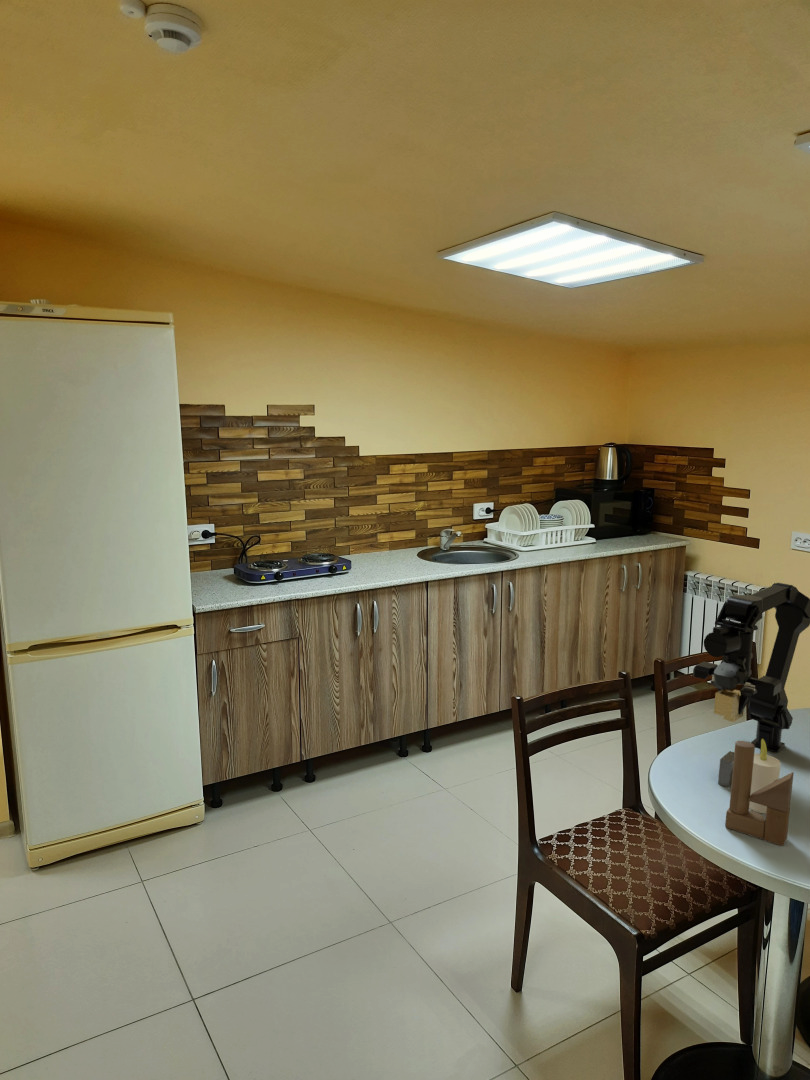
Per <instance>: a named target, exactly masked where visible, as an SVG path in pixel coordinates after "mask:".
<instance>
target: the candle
mask: <svg viewBox="0 0 810 1080" xmlns="http://www.w3.org/2000/svg"><path fill="white" fill-rule="evenodd" d="M781 764H782V763H781V761H780V760H779V759H777V758H776V757H774V756H772V755H769V754H768V750H767V747H766V743H765V741H764V739H762V740H761V748H760V753H756V752H755V753H754V762H753V772H752V783H751V793H750V796H751V794H752V793H754V792H756V791H758V790H759V789H761V788H763V787H765V786H767V785H769V784H771V783H773V782H775V781H777V780H779V779H780V771H781ZM749 811H752V812H756V813H759V814H765V815H766V811H767V806H764V805H760V804H757V803H754V802H750V804H749Z"/></svg>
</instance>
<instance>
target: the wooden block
mask: <svg viewBox="0 0 810 1080" xmlns="http://www.w3.org/2000/svg"><path fill="white" fill-rule="evenodd" d="M735 742H736V743H734V751H733V752H734V763H733V774H732V785H731V786H730V796H729V797H730V798H729V808H728V809H727V810H726V813H725V823H724V824H725V828H727V829H729V830H732V831H736V832H737V833H738V832H740V833H741V834H745V835H747V836H751V837H754V838H757V839H759V840H764V841H765V842H768V843H770V844H775V845H778V846H780V847H784V846H785V843H786V841H787V839H788V831H789V822H790V811H791V807H790V806H791V801H792V792H793V791H792V790H793V782H794V781H793V780H794V772H793V771H792V772H791V773H788V774H786V775H784V776H783V777H779V780H777V781H775V782H773V783H771V784H769V785H767V786H765V787H763V788H761V789H759V790H758V791H756V792H754V793H752V794H751V796H750V793H751V783H752V772H753V762H754V754H755V753H756V752H755V750H756V746H754V744H752V743H751V741H747V740H738V741H735ZM750 802H754V803H757V804H760V805H764V806H767V811H766V814H765V817H764V816H762V814H761V813H758V812H755V811H753V810H750V809H749V804H750Z"/></svg>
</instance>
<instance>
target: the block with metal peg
mask: <svg viewBox="0 0 810 1080" xmlns="http://www.w3.org/2000/svg"><path fill="white" fill-rule="evenodd" d="M736 742H737V741H735V743H736ZM735 743H734V744H735ZM734 752H735V751H730V750H729V751H728V752H727V753H726V754H724V755H723V756H722V757H721V758H720V759H719V768H718V780H717V784H718V785H720V786H724V787H727V788H731V785H732V774H733V763H734Z"/></svg>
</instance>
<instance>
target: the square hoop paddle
mask: <svg viewBox="0 0 810 1080" xmlns="http://www.w3.org/2000/svg"><path fill="white" fill-rule="evenodd" d="M714 696H715V697H714V707H713V708H714V709H713V714H715V715H719V716H723V720H725V721H728V722H732V723H735V722H736V721H737V720H739V719H741V718H742V717H744V710H745V709H744V710H743V712H742V713H741V714H738V708H739V702H740V697H741V693H740V690H738V689H733V690H731V691H729V690H725V689H721V690H720V691H717V692H715V695H714Z"/></svg>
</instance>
